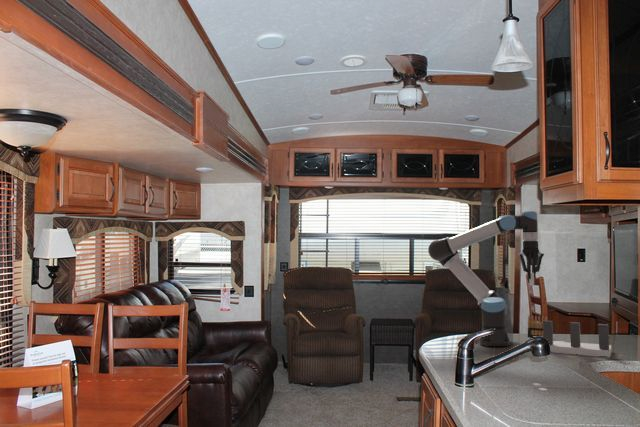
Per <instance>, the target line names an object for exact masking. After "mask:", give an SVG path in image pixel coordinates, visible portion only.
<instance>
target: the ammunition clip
mask: <svg viewBox="0 0 640 427" xmlns="http://www.w3.org/2000/svg"><path fill="white" fill-rule="evenodd" d="M527 319H528V320H527V337H528V338H534V337H533V336H543V320H546V321H549V319H548V316H547V315H545V318H544V315H538V316H537V315H535V317H534V315H533V314H532V315H531V316H530V314H528V318H527Z"/></svg>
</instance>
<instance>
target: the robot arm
mask: <svg viewBox="0 0 640 427" xmlns="http://www.w3.org/2000/svg"><path fill="white" fill-rule="evenodd" d="M538 222H539V221H538V213H537V212H536V211H535V210H534V211H533V210H531V211H530V210H527V211H522V212H521V214H518V215H510V214H506V215H499V217H498V218H497V219H494V220H491V221H489V222H485V223H484V224H481V225H479V226H477V227H473V228H471V229H469V230H467V231H464V232H461V233H459V234H456V235H455V236H451V237H449V236H447V237H444V238H439V239H435V240H433V241H432V242H430V244H429V246H428V249H427V250H428V254H429V257H430V258H431V259H432V260H435V261H437V262H439V264H441V266H442V267H443V268H448V269H449V270H450V271H451V273H453V275H454V276H455V277H456V278H457V280H459V281H460V282H461V284H462V285H463V286H464V287H465V289H466V290H468V291H469V293H470V294H472V295H473V297H474V298H475V299H476V300H477V305H478V306H479V308H480V309H481V327H482V329H481V331H482V330H485V329H490V328H496V331H495V333H494V334H491V335H488V336H485V337H481V338H480V337H479V339H478V344H479V345H480V346H483V345H484V346H483V347H488V346H494V347H493V348H496V347H495V346H507V347H509V346H510V345H511V340H510V337H509V334H508V332H507V328H506V327H507V322H506V316H507V314H508V311H509V306H508V303H507V301H506V300H505V299H504V298H503V297H501V296H500V295H499V294H498V293H497V292H496V291H495V290H491V289H489V287H488V286H487V285H486V284H485V283H484V282H483V281H482V280H481V279H480V277H478V275H477V274H476V273H475V272H474V271H473V270H472V269H471V268H470V267H469V266H468V265H467V264H466V263H465V261H464V260H463V259H462V258H461V257H460V252H459V251H460V250H462V249H465V248H468V247H469V246H470V247H471V246H472V245H474V244H477V243H481V242H482V241H486V240H487V239H490V238H492V237H495V236H497V235H500V234H502V233H505V232H508V231H512V230H522V240H523V241H522V252H520V253H518V254H517V256H518V257H519V259H520V263H521V267H522V270H523V271H524V272H525V273H527V280H529V286H531V287H532V286H535V280H536V279H537V278H536V275H537V274H536V273H539V272H540V269H541V264H542V259H543V257H544V255H545V254H544V253H542V252H540V249H539V241H538V239H539V231H538ZM524 256H525V258H526V259H525V258H524ZM536 257H537V258H536ZM536 260H537V261H536ZM508 345H509V346H508Z"/></svg>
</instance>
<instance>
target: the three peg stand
mask: <svg viewBox="0 0 640 427" xmlns="http://www.w3.org/2000/svg"><path fill="white" fill-rule="evenodd" d="M597 326H598V327H597V328H598V343H587V342H580V344H581V346H580V347H574V346H571V341H567V340H566V341H563V340H562V341H561V340H554V331H553V330H554V327H553V320H548V321H546V320H545V319H544V320H543V337H544V338H545V339H547V341H548V342H549V344H550V347H551V352H550V353H557V354H564V355H565V354H568V355H576V354H578V355H577V356H588V357H589V356H590V357H591V356H592V357H599V356H608V357H607V358H611V357H612V352H613V351H612V345H611V344H610V332H609V324H608V323H604V324H603V323H598V324H597ZM611 351H612V352H611ZM610 356H611V357H610Z"/></svg>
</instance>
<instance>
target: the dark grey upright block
mask: <svg viewBox="0 0 640 427" xmlns="http://www.w3.org/2000/svg"><path fill="white" fill-rule="evenodd" d="M569 330H570V332H569V334H570V342H571V346H574V347H580V346H581V344H580V343H581V324H580V322H576V321H575V322H574V321H573V322H572V321H570V322H569Z"/></svg>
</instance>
